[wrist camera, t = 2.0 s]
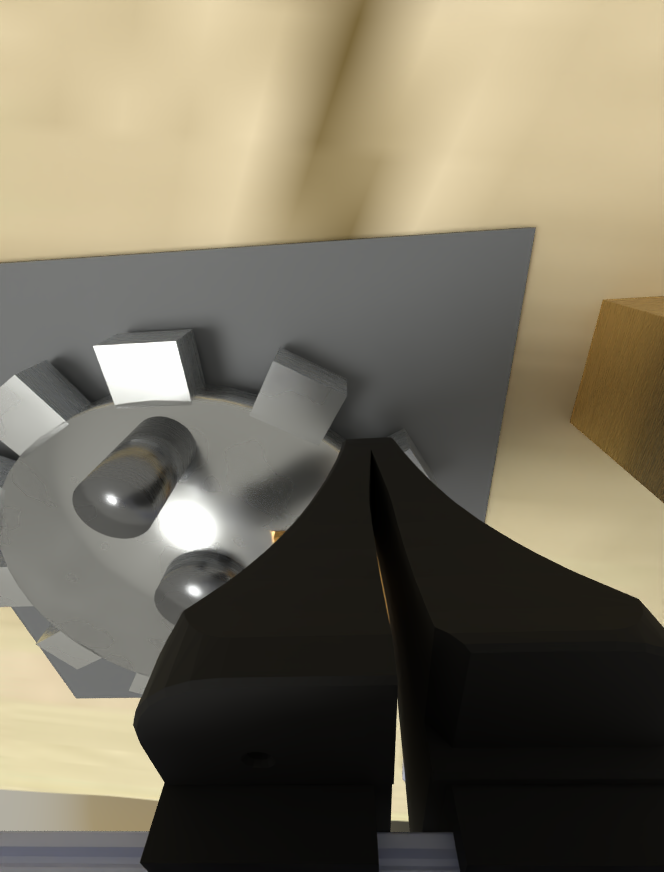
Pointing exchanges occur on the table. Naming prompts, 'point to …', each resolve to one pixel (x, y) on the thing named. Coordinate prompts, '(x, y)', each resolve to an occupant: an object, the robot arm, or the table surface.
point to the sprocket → (153, 489)
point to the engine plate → (298, 342)
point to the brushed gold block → (627, 388)
